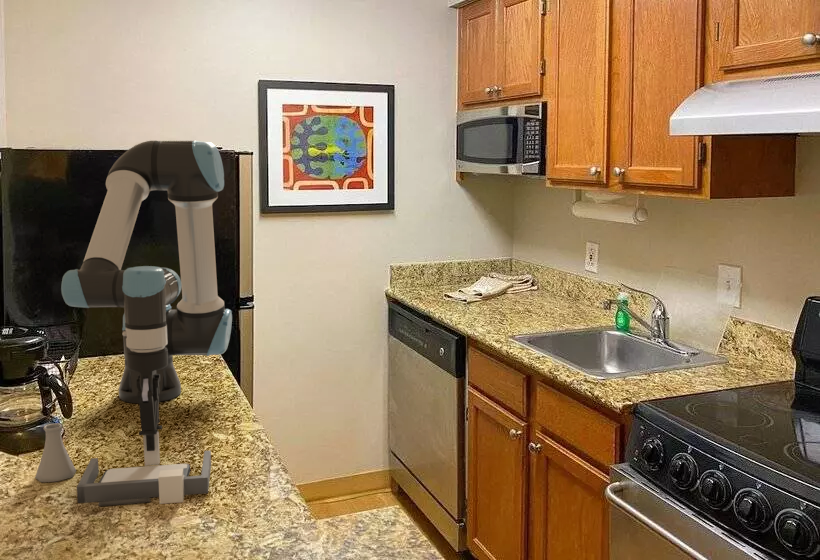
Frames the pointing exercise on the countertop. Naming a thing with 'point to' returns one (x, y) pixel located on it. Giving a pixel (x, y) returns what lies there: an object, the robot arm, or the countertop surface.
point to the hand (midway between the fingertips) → (152, 463)
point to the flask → (54, 457)
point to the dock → (143, 486)
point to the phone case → (140, 472)
